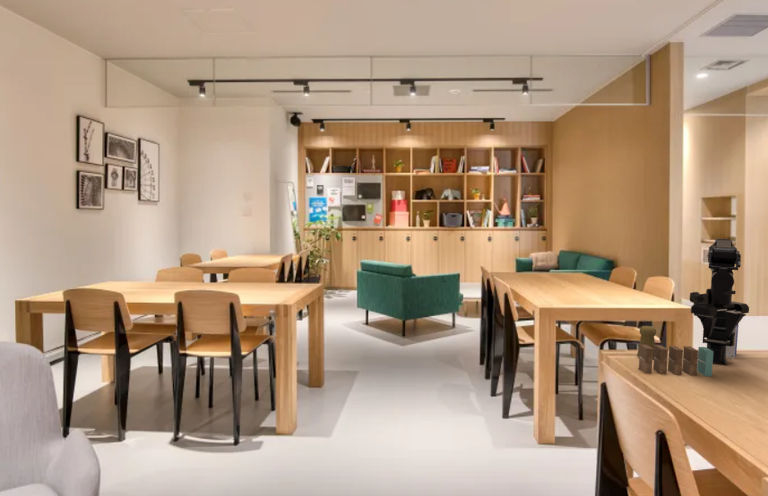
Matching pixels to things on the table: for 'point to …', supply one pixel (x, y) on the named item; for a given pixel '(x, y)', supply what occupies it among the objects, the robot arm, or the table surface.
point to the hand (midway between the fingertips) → (718, 335)
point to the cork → (647, 338)
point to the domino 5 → (705, 361)
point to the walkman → (733, 349)
